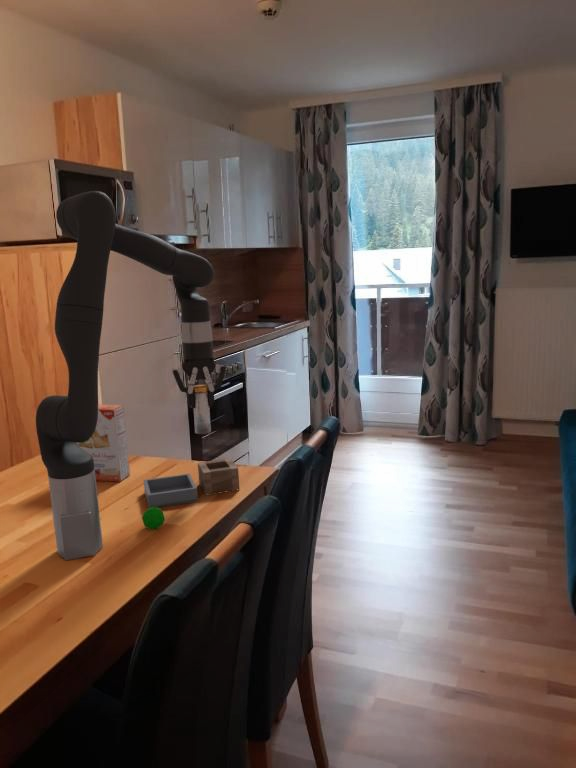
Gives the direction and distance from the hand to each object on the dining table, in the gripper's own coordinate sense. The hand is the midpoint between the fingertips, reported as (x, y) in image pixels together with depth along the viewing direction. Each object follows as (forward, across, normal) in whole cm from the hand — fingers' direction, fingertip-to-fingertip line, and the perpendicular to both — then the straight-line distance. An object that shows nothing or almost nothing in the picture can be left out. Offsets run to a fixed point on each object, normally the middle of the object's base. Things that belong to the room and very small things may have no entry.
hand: (201, 406), depth 164 cm
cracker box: (+23, -26, +22) cm, 41 cm away
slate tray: (+23, -9, -1) cm, 25 cm away
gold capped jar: (+7, 0, 0) cm, 7 cm away
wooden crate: (+22, +4, +1) cm, 23 cm away
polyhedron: (+23, -15, -19) cm, 34 cm away
